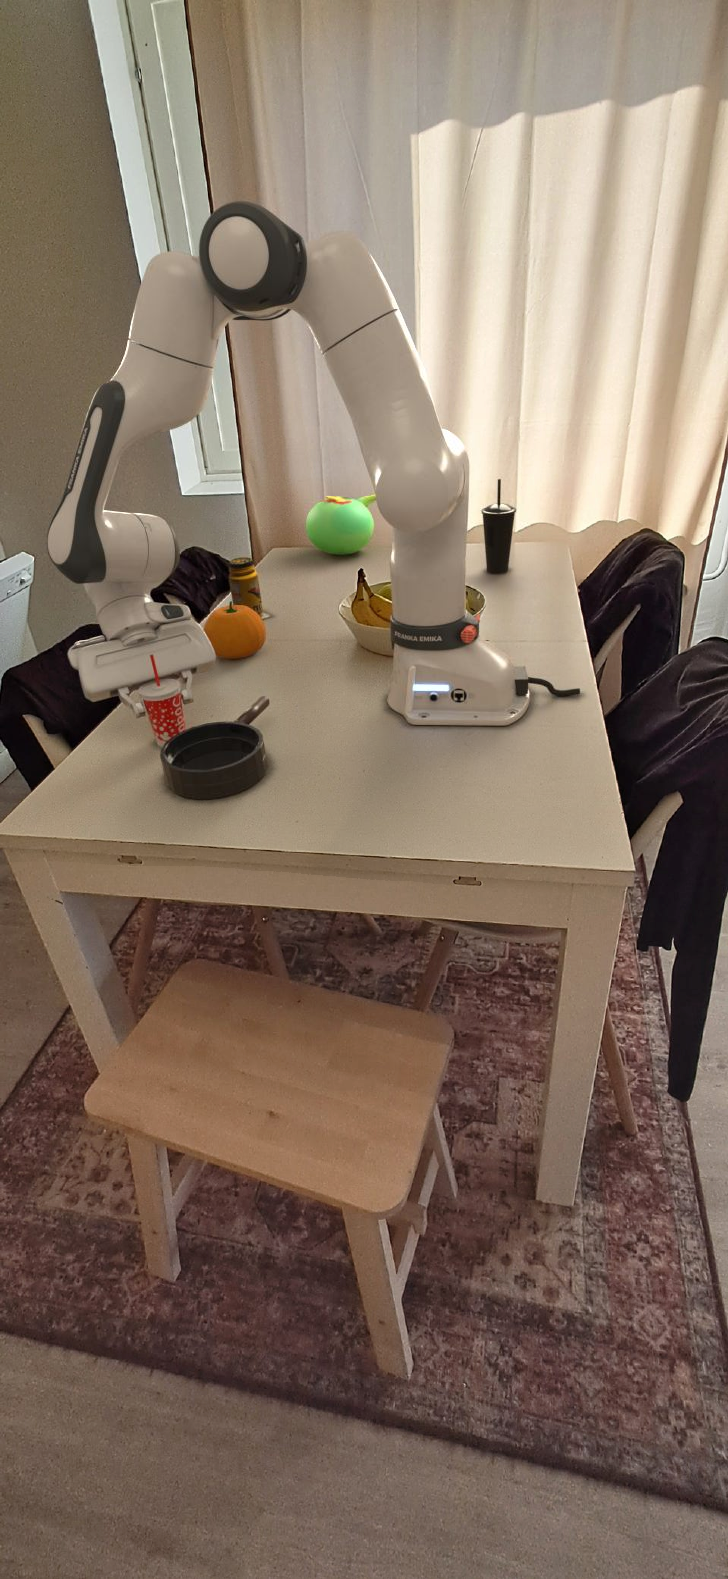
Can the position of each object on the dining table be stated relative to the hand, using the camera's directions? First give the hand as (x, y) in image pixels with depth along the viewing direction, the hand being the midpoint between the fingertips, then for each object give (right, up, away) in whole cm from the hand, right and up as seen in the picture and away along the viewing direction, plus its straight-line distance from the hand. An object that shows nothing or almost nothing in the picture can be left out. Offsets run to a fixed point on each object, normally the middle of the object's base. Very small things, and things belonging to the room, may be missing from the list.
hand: (165, 709), depth 114 cm
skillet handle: (+13, -1, +1) cm, 13 cm away
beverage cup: (0, -5, +4) cm, 6 cm away
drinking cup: (+61, +39, +63) cm, 96 cm away
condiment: (+4, +25, +49) cm, 55 cm away
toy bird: (+24, +50, +86) cm, 102 cm away
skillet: (+9, -10, -6) cm, 15 cm away
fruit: (+6, +14, +32) cm, 36 cm away
